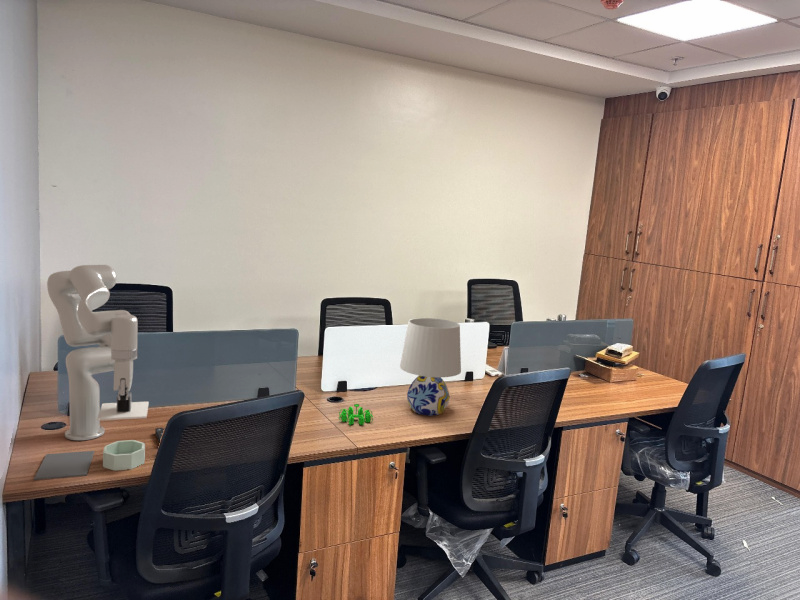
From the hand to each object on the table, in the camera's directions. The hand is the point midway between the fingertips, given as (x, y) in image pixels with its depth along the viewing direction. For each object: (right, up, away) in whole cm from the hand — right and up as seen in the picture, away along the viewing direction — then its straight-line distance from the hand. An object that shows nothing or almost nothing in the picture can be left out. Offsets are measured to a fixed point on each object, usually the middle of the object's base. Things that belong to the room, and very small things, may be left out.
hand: (124, 408), depth 189 cm
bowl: (-1, -18, +3) cm, 18 cm away
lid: (0, -1, 0) cm, 1 cm away
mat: (-17, -18, -3) cm, 25 cm away
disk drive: (+7, -16, +24) cm, 30 cm away
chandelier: (+71, -16, +56) cm, 91 cm away
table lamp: (+101, -15, +74) cm, 126 cm away
